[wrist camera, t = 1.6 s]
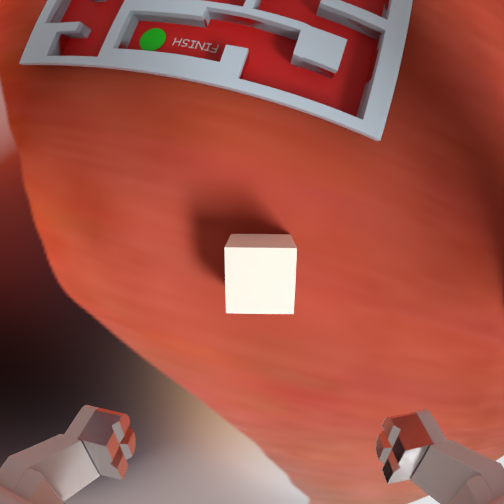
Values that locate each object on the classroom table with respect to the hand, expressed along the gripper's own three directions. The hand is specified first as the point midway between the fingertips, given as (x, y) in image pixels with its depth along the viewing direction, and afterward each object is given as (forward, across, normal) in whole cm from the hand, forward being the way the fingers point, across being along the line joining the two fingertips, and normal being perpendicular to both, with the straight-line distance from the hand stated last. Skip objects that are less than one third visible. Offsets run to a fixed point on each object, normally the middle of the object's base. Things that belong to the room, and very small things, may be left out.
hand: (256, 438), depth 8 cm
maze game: (+20, +4, -25) cm, 32 cm away
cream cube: (+19, 0, 0) cm, 19 cm away
